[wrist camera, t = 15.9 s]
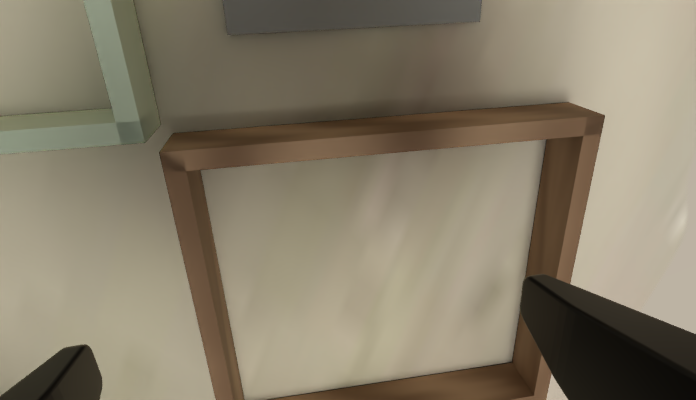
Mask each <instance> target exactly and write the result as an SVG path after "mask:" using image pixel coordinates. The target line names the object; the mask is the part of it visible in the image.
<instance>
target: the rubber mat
mask: <svg viewBox="0 0 696 400" xmlns="http://www.w3.org/2000/svg"><path fill="white" fill-rule="evenodd" d="M481 4H482V0H223V6H224V13H225V20H226V27H227V34H228V35H240V34H259V33H278V32H297V31H315V30H334V29H353V28H372V27H391V26H409V25H428V24H447V23H466V22H480V16H481Z"/></svg>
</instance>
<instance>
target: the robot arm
mask: <svg viewBox="0 0 696 400" xmlns="http://www.w3.org/2000/svg"><path fill="white" fill-rule="evenodd" d="M520 311H521V315H522V318H523V320H524V322H525V324H526V326H527V328H528V330H529V331H530V333H531V335H532V337H533V339H534V341H535V343H536V345H537V347H538V349H539V350H540V352H541V354H542V356H543V358H544V360H545V362H546V364H547V366H548V368H549V369H550V371H551V373H552V375H553V376H554V378H555V380H556V381H557V383H558V385H559V386H560V388H561V389H562V391H563V392H564V394H565V395H566V397H567V398H568V400H696V334H694V333H691V332H689V331H686V330H684V329H681V328H679V327H676V326H674V325H671V324H669V323H666V322H664V321H661V320H659V319H656V318H654V317H651V316H648V315H646V314H643V313H641V312H639V311H636V310H634V309H631V308H629V307H626V306H624V305H621V304H619V303H616V302H614V301H611V300H609V299H606V298H603V297H601V296H598V295H596V294H593V293H591V292H588V291H586V290H583V289H581V288H578V287H576V286H573V285H571V284H568V283H566V282H563V281H561V280H558V279H556V278H553V277H551V276H548V275H546V274H538V275H531V276H527V277H526V278H525V279H524V281H523V288H522V296H521V304H520ZM101 390H102V376H101V373H100V370H99V368H98V365H97V362H96V360H95V357H94V355H93V352H92V350H91V348H90V347H89V346H88V345H85V344H84V345H77V346H70V347H66V348H63V349H62V350H60V351H59V352H58V353H56V354H55V355H54V356H52V357H51V358H50V359H48V360H47V361H46V362H45V363H43V364H42V365H41V366H39V367H38V368H37V369H35V370H34V371H33V372H31V373H30V374H29V375H28V376H26V377H25V378H24V379H22V380H21V381H20V382H18V383H17V384H16V385H14V386H13V387H12V388H11V389H9V390H8V391H7V392H5V393H4V394H3V395H1V396H0V400H99V399H100V395H101Z"/></svg>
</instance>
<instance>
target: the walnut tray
mask: <svg viewBox="0 0 696 400" xmlns="http://www.w3.org/2000/svg"><path fill="white" fill-rule="evenodd" d="M604 118H605V115H602V114H600V113H597V112H594V111H591V110H589V109H586V108H583V107H580V106H577V105H575V104H572V103H569V102H567V103H554V104H541V105H528V106H516V107H503V108H490V109H477V110H465V111H452V112H439V113H426V114H414V115H401V116H388V117H375V118H363V119H350V120H337V121H325V122H312V123H299V124H286V125H274V126H261V127H248V128H235V129H223V130H210V131H197V132H184V133H173V134H172V135H171V137H170V138H169V140H168V141H167V142H166V144H165V145H164V146H163V148H162V149H161V151H160V152H159V154H160V159H161V163H162V167H163V172H164V176H165V180H166V185H167V189H168V193H169V198H170V202H171V207H172V211H173V215H174V220H175V224H176V228H177V233H178V237H179V241H180V246H181V250H182V254H183V259H184V263H185V267H186V272H187V276H188V281H189V285H190V289H191V294H192V298H193V302H194V307H195V311H196V315H197V320H198V324H199V328H200V333H201V337H202V341H203V346H204V350H205V355H206V359H207V363H208V368H209V372H210V376H211V381H212V385H213V389H214V394H215V398H216V400H244V395H243V390H242V385H241V379H240V374H239V369H238V364H237V359H236V353H235V348H234V343H233V338H232V333H231V327H230V322H229V317H228V312H227V307H226V301H225V296H224V291H223V286H222V280H221V275H220V270H219V265H218V260H217V254H216V249H215V244H214V239H213V234H212V228H211V223H210V218H209V213H208V208H207V202H206V197H205V192H204V187H203V181H202V176H201V171H200V170H205V169H216V168H227V167H239V166H250V165H261V164H272V163H284V162H295V161H306V160H318V159H329V158H340V157H351V156H363V155H374V154H385V153H396V152H408V151H419V150H430V149H441V148H453V147H464V146H475V145H486V144H498V143H509V142H520V141H532V140H543V139H547V142H546V148H545V155H544V161H543V168H542V174H541V181H540V187H539V193H538V200H537V206H536V213H535V219H534V226H533V232H532V238H531V245H530V251H529V258H528V264H527V271H526V277H527V276H531V275H538V274H546V275H548V276H551V277H553V278H556V279H558V280H561V281H563V282H566V283H568V284H570V282H571V277H572V272H573V267H574V263H575V258H576V253H577V248H578V243H579V239H580V234H581V229H582V224H583V219H584V214H585V210H586V205H587V200H588V195H589V190H590V186H591V181H592V176H593V171H594V166H595V162H596V157H597V152H598V147H599V142H600V137H601V133H602V128H603V123H604ZM526 277H525V278H526ZM550 378H551V371H550V369H549V368H548V366H547V364H546V362H545V360H544V358H543V356H542V354H541V352H540V350H539V349H538V347H537V345H536V343H535V341H534V339H533V337H532V335H531V333H530V331H529V330H528V328H527V326H526V324H525V322H524V320H523V318H522V315H521V311H520V316H519V322H518V329H517V335H516V341H515V348H514V354H513V361H512V363H506V364H500V365H493V366H487V367H480V368H473V369H467V370H460V371H454V372H447V373H441V374H434V375H428V376H421V377H415V378H408V379H402V380H395V381H388V382H382V383H375V384H369V385H362V386H356V387H349V388H343V389H336V390H330V391H323V392H317V393H310V394H303V395H297V396H290V397H284V398H277V399H271V400H546V397H547V393H548V388H549V383H550Z"/></svg>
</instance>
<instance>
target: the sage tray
mask: <svg viewBox="0 0 696 400" xmlns="http://www.w3.org/2000/svg"><path fill="white" fill-rule="evenodd" d="M83 2H84V5H85V9H86V13H87V17H88V20H89V24H90V28H91V32H92V35H93V39H94V43H95V47H96V51H97V54H98V58H99V62H100V66H101V69H102V73H103V77H104V81H105V84H106V88H107V92H108V96H109V100H110V103H111V107H112V108H109V109H95V110H80V111H66V112H52V113H38V114H24V115H10V116H0V154H13V153H25V152H38V151H50V150H63V149H75V148H88V147H100V146H112V145H125V144H137V143H145V142H146V141H147V140H148V139H149V138H150V137H151V135H152V134H153V133H154V132H155V131H156V130H157V128H158V127H159V126H160V125H161V123H160V119H159V114H158V110H157V105H156V101H155V96H154V92H153V87H152V83H151V78H150V74H149V69H148V65H147V60H146V56H145V51H144V47H143V42H142V38H141V33H140V29H139V24H138V20H137V15H136V11H135V6H134V2H133V0H83Z"/></svg>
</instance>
